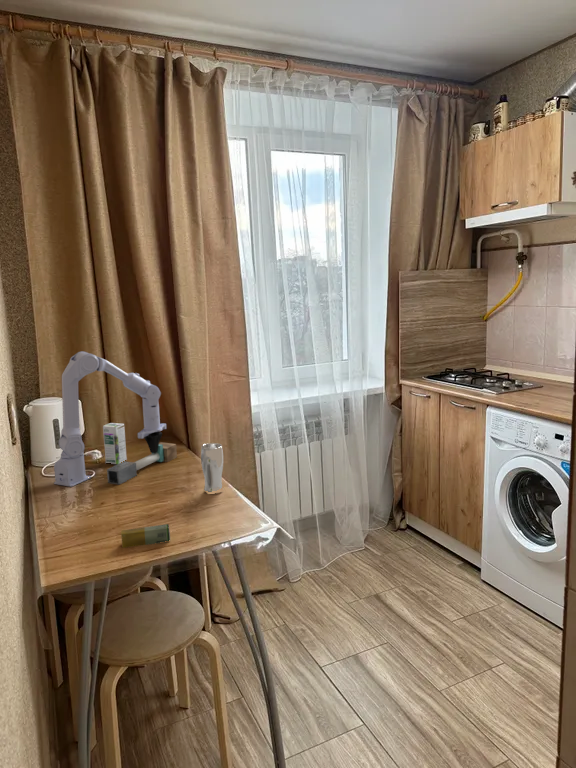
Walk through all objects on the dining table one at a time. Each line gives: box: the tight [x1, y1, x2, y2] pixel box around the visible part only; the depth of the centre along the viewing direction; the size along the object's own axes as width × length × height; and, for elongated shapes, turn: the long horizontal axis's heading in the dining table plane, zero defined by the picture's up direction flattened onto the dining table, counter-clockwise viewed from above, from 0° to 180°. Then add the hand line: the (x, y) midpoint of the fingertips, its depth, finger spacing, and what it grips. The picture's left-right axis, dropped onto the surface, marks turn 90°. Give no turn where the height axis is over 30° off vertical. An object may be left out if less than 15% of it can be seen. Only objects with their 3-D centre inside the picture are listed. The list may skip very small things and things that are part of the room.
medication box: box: [120, 523, 171, 549], centre depth 141 cm, size 12×3×4 cm, turn 105°
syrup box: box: [102, 422, 128, 465], centre depth 205 cm, size 6×6×14 cm
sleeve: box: [106, 460, 138, 486], centre depth 187 cm, size 9×5×5 cm, turn 157°
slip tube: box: [133, 444, 164, 472], centre depth 200 cm, size 20×4×6 cm, turn 157°
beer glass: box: [200, 442, 224, 492], centre depth 174 cm, size 7×7×15 cm
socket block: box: [159, 441, 178, 463], centre depth 209 cm, size 6×7×5 cm
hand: (153, 452), depth 203 cm, fingers closed
